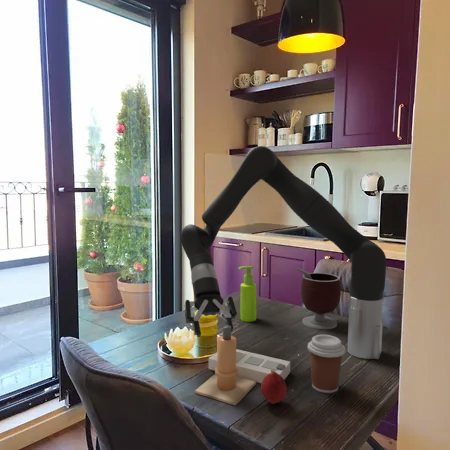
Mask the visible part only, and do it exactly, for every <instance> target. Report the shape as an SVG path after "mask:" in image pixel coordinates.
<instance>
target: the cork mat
mask: <svg viewBox="0 0 450 450" xmlns="http://www.w3.org/2000/svg"><path fill="white" fill-rule="evenodd" d="M255 385H257V382H255V381H251V380H247V379H244V378H240V377H236V387H235V388H234V389H233V390H229V391H224V390H220V389H219V388H218V387H217V375H216V374H213V375H212V376H210V378H208V379H207V380H206V381H205V382H204V383H203V384H201V385H200V386H198V387H197V389H195V390H194V393H195V394H197V395H201V396H204V397H206V398H210V399H213V400H217V401H219V402H223V403H226V404H230V405H233V406H237V405H238V404H239V403H240V401H242V399H244V398H245V397H246V396H247V394H248V393H249V392H250V391H251V390H252V388H253V387H255Z"/></svg>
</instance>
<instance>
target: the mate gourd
mask: <svg viewBox="0 0 450 450" xmlns="http://www.w3.org/2000/svg"><path fill="white" fill-rule="evenodd" d="M296 271H299V272H301V273H302V274H303V275H302V279H301V284H300V296H301V298H300V299H301V302H302V304H303V306H304V307H305V308H306V310H308V311H310V312H312V313H314V314H315V315H309V316H305V317H303V318H302V324H303V325H304V326H306V327H308V328H310V329H317V330H331V329H334V328H337V327H338V322H337V320H336V319H334V318H332V317H328V316H325V315H326V314H329V313H333V312H334V311H335V310H336V309H337V308H338V306H339V305H340V301H341V294H342V287H341V280H340V278H341V277H340V276H338V275H336V274H331V273H326V272H307V271H305V270H303V269H301V268H299V267H297V268H296Z"/></svg>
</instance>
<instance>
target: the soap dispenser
mask: <svg viewBox="0 0 450 450" xmlns="http://www.w3.org/2000/svg"><path fill="white" fill-rule="evenodd" d="M237 269H238V270H241V271H242V270H244V269H245V270H246V273H245V274H244V275H243V283H240V301H239V302H240V303H239V304H240V312H239V313H240V315H239V317H240V321H242V322H248V323H252V322H255V321H257V284H256V283H254V275H253V274H252V269H254V267H253V266H251V265H243V266H241V265H240V266H239V267H237Z"/></svg>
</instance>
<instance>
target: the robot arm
mask: <svg viewBox="0 0 450 450" xmlns="http://www.w3.org/2000/svg"><path fill="white" fill-rule="evenodd" d="M261 180H262V181H264V182H265V183H266V184H267V185H268V186H270V187H271V188H272V189H274V190H275V191H276V192H277V194H279V195H280V197H281V198H282V199H283V200H284V202H285V204H286V205H288V207H289V209H291V211H293V213H294V214H295V215H296V216H298V217H299V218H300V219H301V220H302V221H303V222H304V223H305V224H306V225H307V226H309V228H311V229H312V230H314V231H315V232H316V233H317V234H319V235H320V236H323V238H325V239H327V240H329V241H330V242H331V243H332V244H334V245H335V246H336V247H337V248H338V249H340V251H341V252H342V253H343V254H344V255H345V256H346V257H347V259H348V260H349V261H350V262H351V273H350V275H351V276H350V277H351V278H350V285H349V299H348V300H349V301H348V321H347V326H348V327H347V328H348V329H347V352H348V354H350V355H351V356H353V357H356V358H359V359H365V360H372V359H374V360H379V359H380V356H381V354H382V345H383V344H382V343H383V325H384V323H383V322H384V321H383V320H382V319H383V318H382V317H383V301H384V299H383V298H384V291H385V288H386V275H387V274H386V273H387V272H386V271H387V257H386V254H385V252H384V250H383V249H382V248H381V247H380V246H379V245H378V244H377V243H375V242H373V241H372V240H371V239H369V238H367V236H365V235H364V234H361V232H359V231H358V230H356V229H355V228H354V227H353V226H352V225H351V224H350V223H349V222H348V221H347V220H346V219H345V217H343V215H342V214H341V213H340V211H338V209H337V208H336V207H335V206H334V205H333V204H332V203H331V202H330V201H329V200H328V199H327V198H325V196H323V195H322V194H321V193H320V192H318V191H317V190H316V189H315V188H313V187H312V186H311V185H309V184H308V183H307V182H305V181H304V180H303V179H300V178H299V176H298V177H297V175H295V174H294V173H292V171H291V170H289V168H288V167H287V166H286V165H285V164H284V163H283V162H282V161H281V160H280V158H278V156H277V155H276V153H275V152H274V151H273V150H272V149H270V148H269V147H267V146H264V145H261V146H260V145H258V146H255V147H252V148H250V149H249V151H248V152H247V153H246V155H245V157H244V158H243V161H242V162H241V165H240V166H239V168H238V169H237V171H236V173H235V174H234V175H233V177H232V178H231V179H230V181H229V182H228V183H227V184H226V186H225V187H224V188H223V189H222V191H220V193H219V194H218V195H217V196H216V197H215V199H214V200H213V201H212V202H211V203H210V204H209V205H208V207H206V210H204V212H203V214H202V215H201V220H202V221H203V224H205V227H204V228H201V227H199V226H197V225H195V224H187V225H185V226H184V227H183V228H182V230H181V232H180V242H181V243H180V244H181V246H182V249H183V251H184V253H185V255H186V257H187V259H188V260H189V268H190V274H191V275H190V277H191V278H190V279H191V285H192V289H193V290H192V291H193V297H194V300H193V301H192V300H189V299H186V300H185V302H184V316H185V317H184V318H185V319H184V320H185V323H186V324H191V325H192V326H193V334H194V335H195V336H196V337H197V338H201V336H202V331H201V325H200V319H201V318H202V316H205V317H209V316H216V315H217V316H218V317H220V318H222V319H223V320H224V321H225V325H229V326H231V333H232V332H233V330H234V325H233V320H235V319H236V317H237V315H238V311H237V307H236V306H235V301H234V298H233V297H232V296H229V297H228V298H223V297H222V296H221V295H222V293H221V290H220V285H219V281H218V275H217V271H216V269H215V267H214V262H213V261H214V260H213V257H212V254H211V252H210V251H209V249H210V248H211V247H212V245H213V244H214V241H215V240H216V237H217V235H218V234H219V231H220V229H221V228H222V226H223V225H224V224H225V222H226V221H228V220H229V218H230V217H231V215H232V214H233V213H234V212H235V210H236V209H237V208H238V206H239V204H240V203H241V201H242V200H243V199H244V197H245V196H246V194H247V193H248V192H249V191H251V189H252V188H253V187H254V186H255V185H256V184H257V183H258V182H260V181H261ZM223 304H225V306H226V307H227V309H228V310H227V309H226V308H225V307H224V305H223ZM193 307H194V308H195V309H196V310H197V312H196V314H195V316H194V317H193V316H192V311H191V310H193Z"/></svg>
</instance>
